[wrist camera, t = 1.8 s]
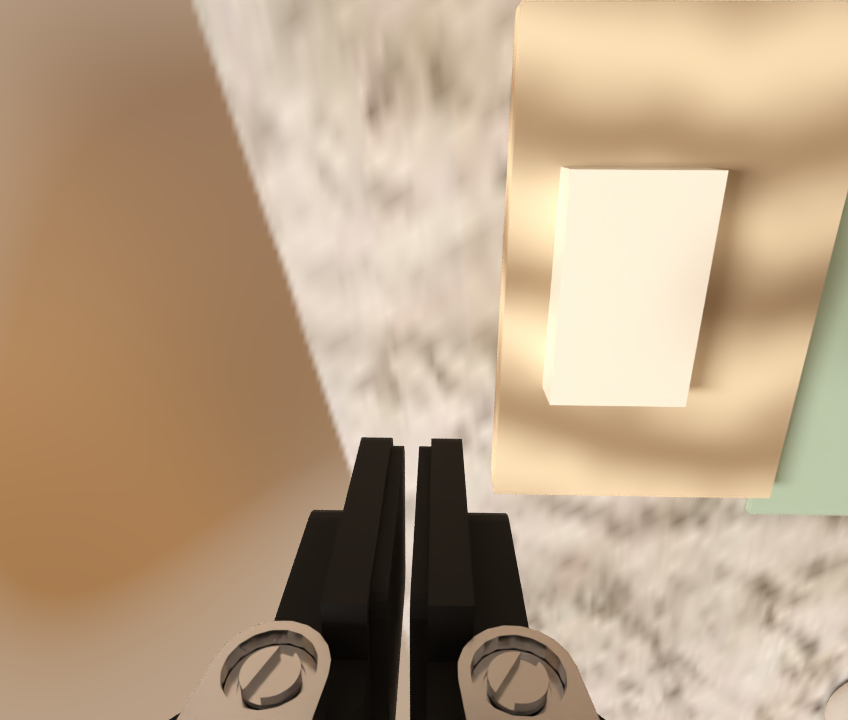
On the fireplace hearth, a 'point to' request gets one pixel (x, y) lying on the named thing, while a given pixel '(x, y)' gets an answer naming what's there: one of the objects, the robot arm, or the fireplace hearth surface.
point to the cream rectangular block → (629, 283)
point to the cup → (837, 704)
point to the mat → (819, 408)
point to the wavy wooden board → (735, 243)
